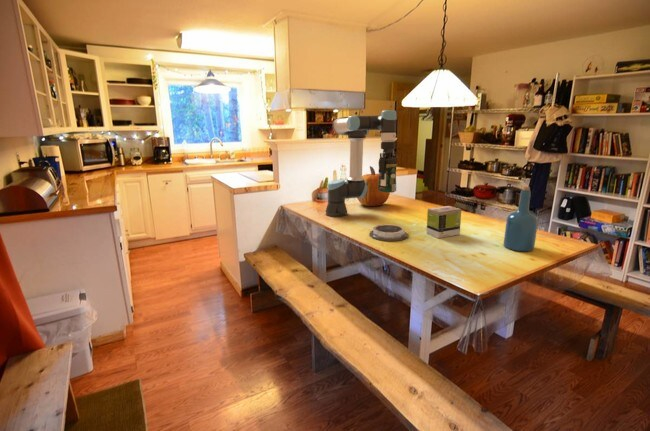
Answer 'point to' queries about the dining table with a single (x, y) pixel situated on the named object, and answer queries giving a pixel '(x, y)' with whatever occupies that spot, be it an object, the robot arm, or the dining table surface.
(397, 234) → the ring collar
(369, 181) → the pumpkin
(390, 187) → the coffee jar
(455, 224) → the tea box
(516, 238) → the wine bottle
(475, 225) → the dining table surface
